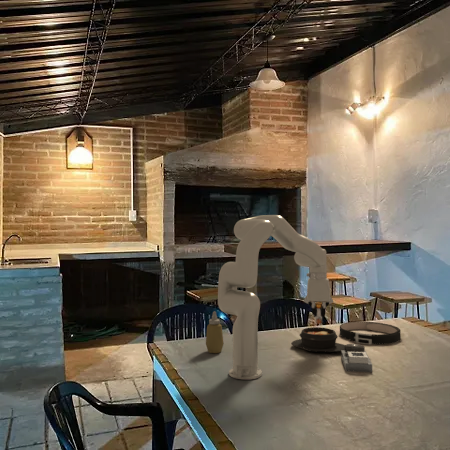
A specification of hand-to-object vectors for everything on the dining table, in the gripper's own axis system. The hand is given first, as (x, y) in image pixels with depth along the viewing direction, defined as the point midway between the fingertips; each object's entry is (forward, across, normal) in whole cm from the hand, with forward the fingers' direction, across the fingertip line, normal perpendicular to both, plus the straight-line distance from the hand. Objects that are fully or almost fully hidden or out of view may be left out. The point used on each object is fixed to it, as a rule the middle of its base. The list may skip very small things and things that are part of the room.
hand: (318, 316), depth 208 cm
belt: (+16, +26, +26) cm, 40 cm away
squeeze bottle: (+15, -46, -10) cm, 50 cm away
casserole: (+15, 0, 0) cm, 15 cm away
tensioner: (+15, +14, -20) cm, 29 cm away
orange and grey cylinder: (+3, 0, 0) cm, 3 cm away
